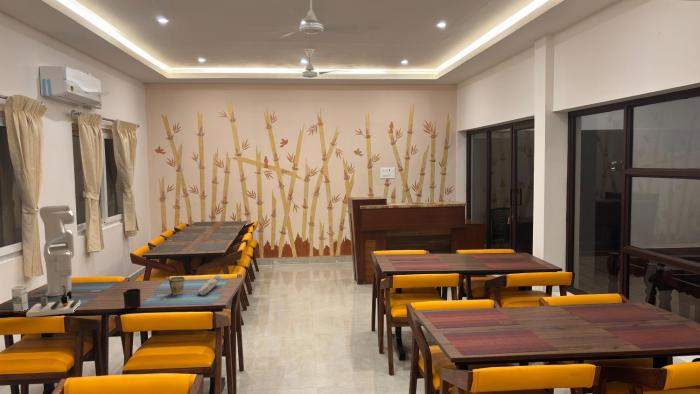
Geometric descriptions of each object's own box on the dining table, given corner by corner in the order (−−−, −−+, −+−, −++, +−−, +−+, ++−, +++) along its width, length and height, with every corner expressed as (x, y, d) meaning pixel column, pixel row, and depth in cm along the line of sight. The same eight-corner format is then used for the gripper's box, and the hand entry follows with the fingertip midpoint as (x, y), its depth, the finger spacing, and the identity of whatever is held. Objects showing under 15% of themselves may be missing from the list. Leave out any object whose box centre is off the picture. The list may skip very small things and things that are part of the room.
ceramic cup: (180, 295, 325) (179, 280, 324) (166, 295, 327) (165, 280, 326) (190, 290, 338) (189, 275, 337) (176, 289, 340) (176, 275, 339)
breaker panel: (36, 307, 304) (36, 303, 304) (80, 303, 311) (80, 299, 311) (26, 317, 287) (26, 312, 287) (73, 312, 294) (73, 308, 293)
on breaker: (42, 304, 301) (41, 297, 300) (47, 304, 301) (47, 296, 301) (40, 305, 298) (40, 298, 298) (46, 305, 299) (46, 297, 299)
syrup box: (28, 309, 301) (27, 285, 300) (22, 312, 296) (20, 288, 294) (19, 309, 301) (17, 285, 300) (12, 312, 295) (10, 288, 294)
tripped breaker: (63, 304, 301) (62, 296, 300) (68, 303, 302) (68, 296, 301) (62, 305, 298) (61, 297, 298) (67, 304, 299) (67, 297, 299)
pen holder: (121, 307, 302) (120, 290, 302) (137, 303, 309) (136, 287, 308) (127, 310, 296) (126, 293, 295) (143, 306, 302) (142, 290, 301)
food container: (224, 279, 353) (220, 272, 352) (211, 294, 323) (207, 286, 322) (209, 286, 353) (205, 279, 353) (196, 301, 324) (191, 294, 323)
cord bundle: (57, 302, 305) (57, 299, 305) (79, 300, 309) (79, 297, 308) (50, 310, 291) (50, 306, 291) (73, 308, 294) (73, 304, 294)
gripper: (61, 270, 309) (63, 297, 310) (53, 276, 292) (55, 305, 294) (75, 269, 311) (77, 296, 312) (67, 275, 294) (69, 304, 296)
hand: (66, 301), depth 303 cm, fingers open, 9 cm apart
